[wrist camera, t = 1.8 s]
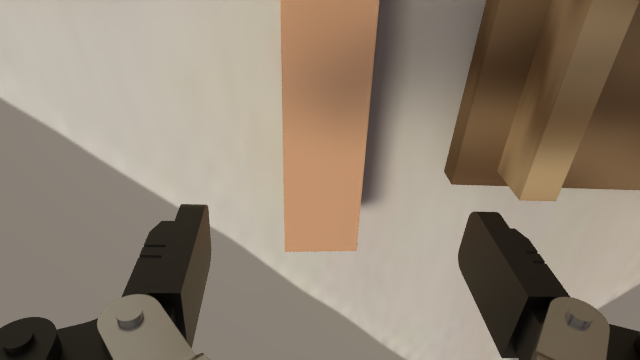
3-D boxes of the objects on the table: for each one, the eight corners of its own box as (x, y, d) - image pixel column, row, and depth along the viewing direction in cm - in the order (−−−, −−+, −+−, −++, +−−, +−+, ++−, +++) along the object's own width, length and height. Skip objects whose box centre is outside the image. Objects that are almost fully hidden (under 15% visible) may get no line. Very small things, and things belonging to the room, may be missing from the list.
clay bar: (281, -85, 20) (279, -82, 16) (369, -82, 20) (386, -79, 17) (286, 205, 29) (284, 251, 25) (347, 204, 29) (356, 250, 25)
